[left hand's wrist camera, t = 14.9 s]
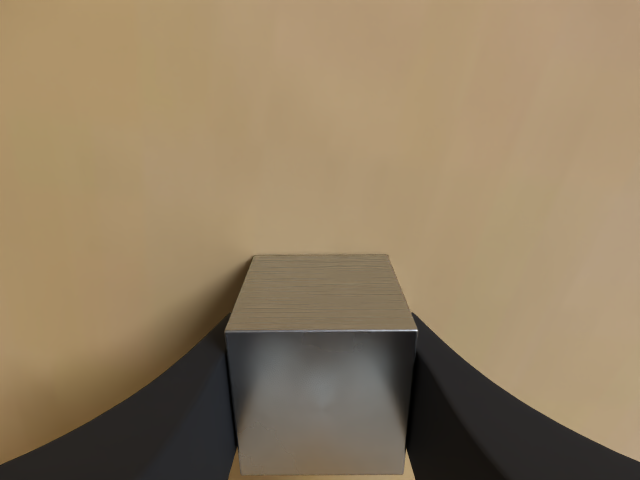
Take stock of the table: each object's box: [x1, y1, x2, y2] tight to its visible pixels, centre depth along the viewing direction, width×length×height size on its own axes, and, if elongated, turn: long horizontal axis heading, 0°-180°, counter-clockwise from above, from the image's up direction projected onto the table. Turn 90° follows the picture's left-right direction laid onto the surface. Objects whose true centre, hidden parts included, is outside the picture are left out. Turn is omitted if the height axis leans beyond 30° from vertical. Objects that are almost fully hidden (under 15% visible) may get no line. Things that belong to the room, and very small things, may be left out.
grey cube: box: [224, 255, 418, 475], centre depth 11 cm, size 4×4×4 cm
